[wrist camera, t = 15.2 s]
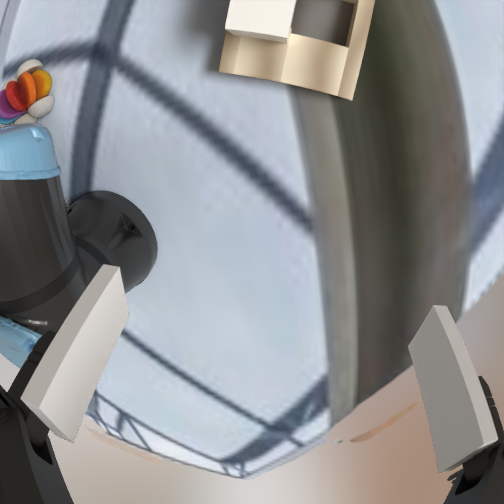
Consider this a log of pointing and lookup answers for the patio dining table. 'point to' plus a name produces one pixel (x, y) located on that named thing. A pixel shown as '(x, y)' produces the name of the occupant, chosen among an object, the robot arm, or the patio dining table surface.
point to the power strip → (261, 19)
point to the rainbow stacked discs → (26, 95)
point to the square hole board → (308, 48)
